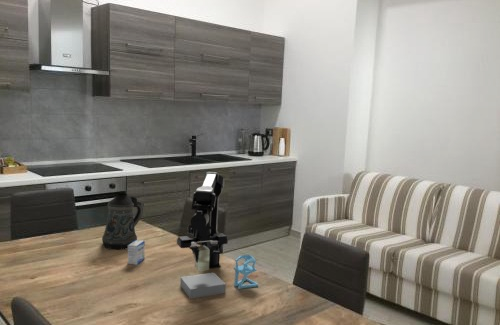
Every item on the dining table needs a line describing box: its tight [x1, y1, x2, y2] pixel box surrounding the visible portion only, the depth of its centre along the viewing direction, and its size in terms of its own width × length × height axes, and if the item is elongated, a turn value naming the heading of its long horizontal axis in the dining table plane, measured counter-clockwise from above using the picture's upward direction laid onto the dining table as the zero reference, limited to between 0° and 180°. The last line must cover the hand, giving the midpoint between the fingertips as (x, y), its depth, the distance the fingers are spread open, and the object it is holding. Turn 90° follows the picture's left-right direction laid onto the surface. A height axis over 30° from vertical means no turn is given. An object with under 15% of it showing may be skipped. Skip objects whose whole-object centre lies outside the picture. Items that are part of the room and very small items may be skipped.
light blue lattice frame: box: [233, 254, 259, 290], centre depth 175 cm, size 8×8×12 cm
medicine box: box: [127, 239, 146, 266], centre depth 195 cm, size 8×4×9 cm, turn 168°
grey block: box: [179, 272, 227, 300], centre depth 170 cm, size 14×12×4 cm
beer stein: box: [101, 193, 144, 251], centre depth 216 cm, size 16×19×25 cm
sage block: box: [194, 245, 210, 272], centre depth 169 cm, size 4×5×8 cm
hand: (202, 261), depth 169 cm, fingers closed on sage block, 4 cm apart
